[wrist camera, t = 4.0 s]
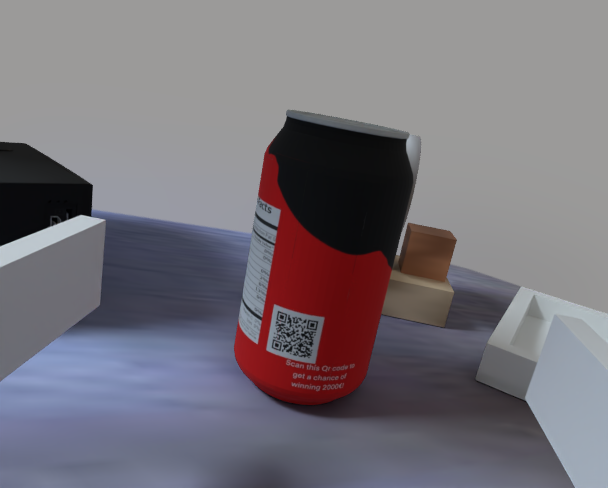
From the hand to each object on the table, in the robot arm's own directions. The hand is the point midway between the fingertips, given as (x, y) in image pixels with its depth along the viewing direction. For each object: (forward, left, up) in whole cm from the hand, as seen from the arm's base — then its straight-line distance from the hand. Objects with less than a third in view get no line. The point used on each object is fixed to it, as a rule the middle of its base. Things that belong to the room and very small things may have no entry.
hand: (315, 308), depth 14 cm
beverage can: (-4, +7, -7) cm, 10 cm away
